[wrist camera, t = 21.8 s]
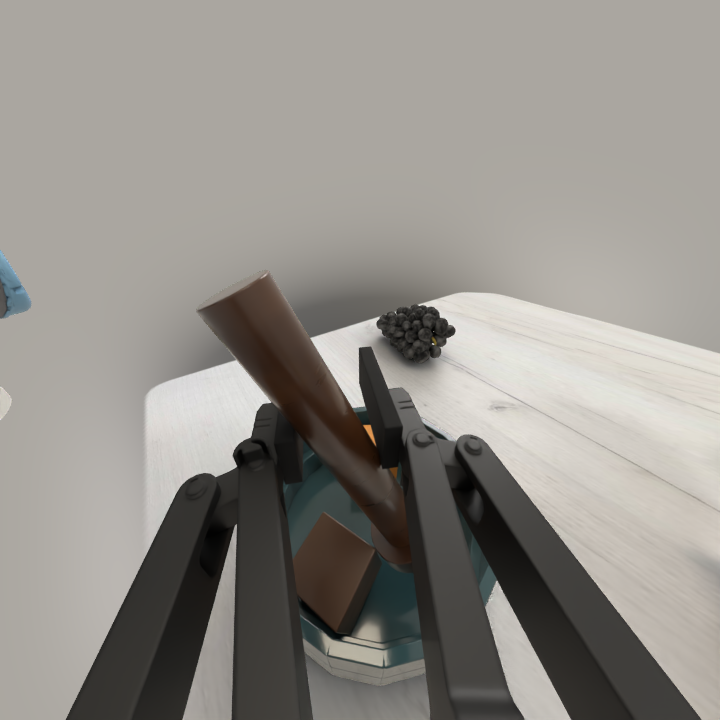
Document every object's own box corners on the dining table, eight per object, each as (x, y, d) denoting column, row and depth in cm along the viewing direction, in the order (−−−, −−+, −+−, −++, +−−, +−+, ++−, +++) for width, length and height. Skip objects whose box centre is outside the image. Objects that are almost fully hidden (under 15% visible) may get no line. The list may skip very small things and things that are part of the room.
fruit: (372, 285, 45) (435, 313, 33) (406, 292, 49) (472, 319, 38) (358, 332, 48) (413, 372, 37) (392, 335, 52) (449, 371, 41)
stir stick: (380, 578, 16) (136, 344, 7) (377, 508, 19) (212, 291, 10) (447, 568, 15) (267, 284, 6) (431, 497, 18) (303, 247, 9)
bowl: (249, 724, 13) (216, 714, 10) (278, 456, 27) (267, 418, 24) (532, 645, 16) (573, 618, 13) (428, 435, 29) (436, 397, 26)
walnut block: (301, 588, 17) (279, 578, 15) (336, 528, 20) (323, 510, 17) (350, 635, 15) (335, 633, 13) (382, 563, 18) (376, 548, 15)
